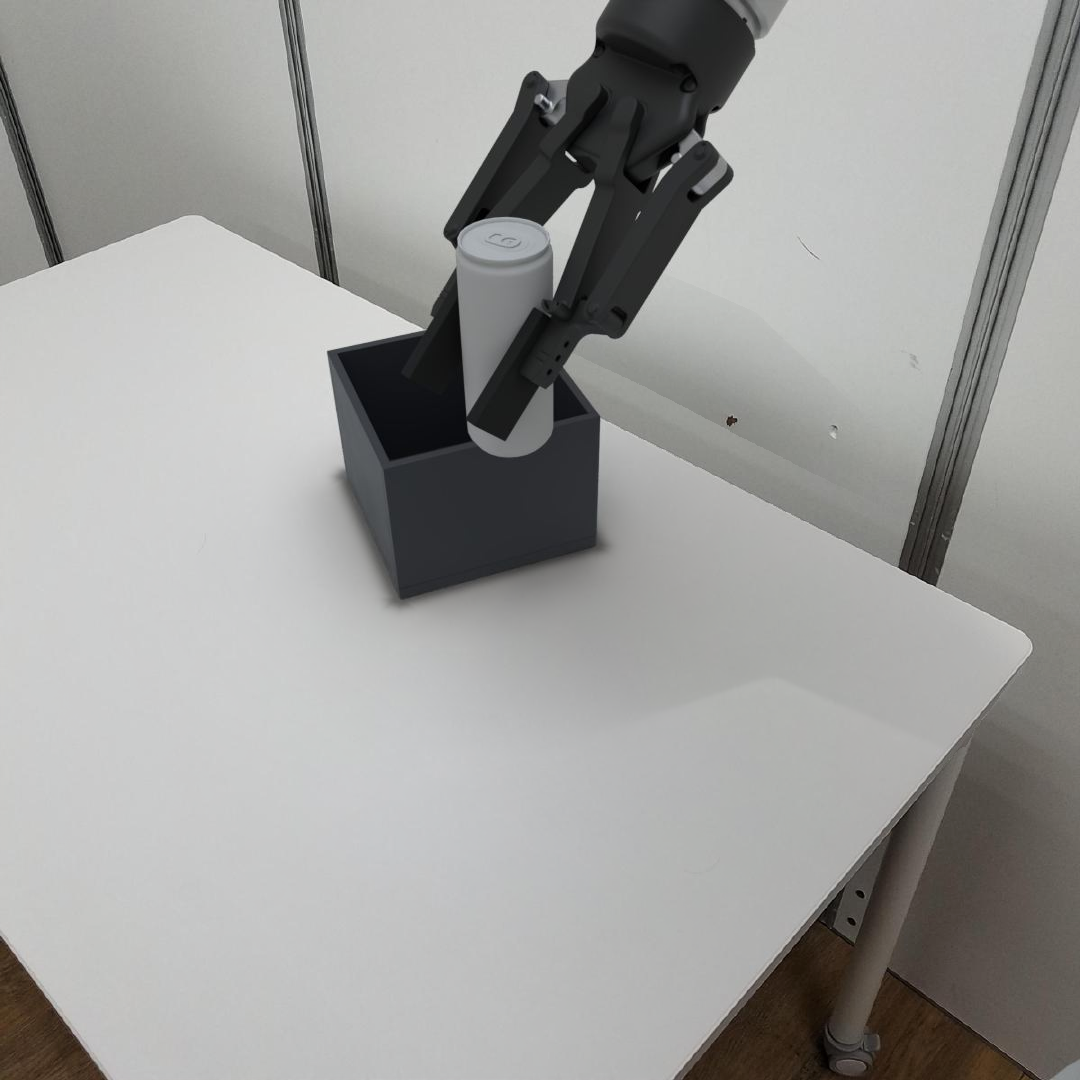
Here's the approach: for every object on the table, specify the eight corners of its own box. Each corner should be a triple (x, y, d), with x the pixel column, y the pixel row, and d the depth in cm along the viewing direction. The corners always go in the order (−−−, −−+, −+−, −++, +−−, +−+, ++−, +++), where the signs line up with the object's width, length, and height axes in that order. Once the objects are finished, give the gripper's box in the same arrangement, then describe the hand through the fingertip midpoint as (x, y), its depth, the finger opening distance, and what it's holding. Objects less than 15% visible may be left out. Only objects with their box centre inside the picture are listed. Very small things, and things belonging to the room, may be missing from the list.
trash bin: (596, 545, 78) (600, 416, 70) (400, 600, 74) (383, 469, 66) (523, 433, 88) (520, 309, 80) (346, 476, 84) (326, 350, 76)
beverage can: (523, 472, 60) (518, 271, 52) (450, 444, 62) (434, 245, 54) (569, 427, 63) (571, 230, 55) (498, 401, 65) (490, 207, 57)
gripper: (868, 95, 53) (605, 507, 56) (610, 7, 63) (399, 360, 66) (814, -1, 47) (522, 467, 50) (538, -81, 57) (309, 313, 60)
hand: (452, 406), depth 58 cm, fingers closed on beverage can, 5 cm apart
